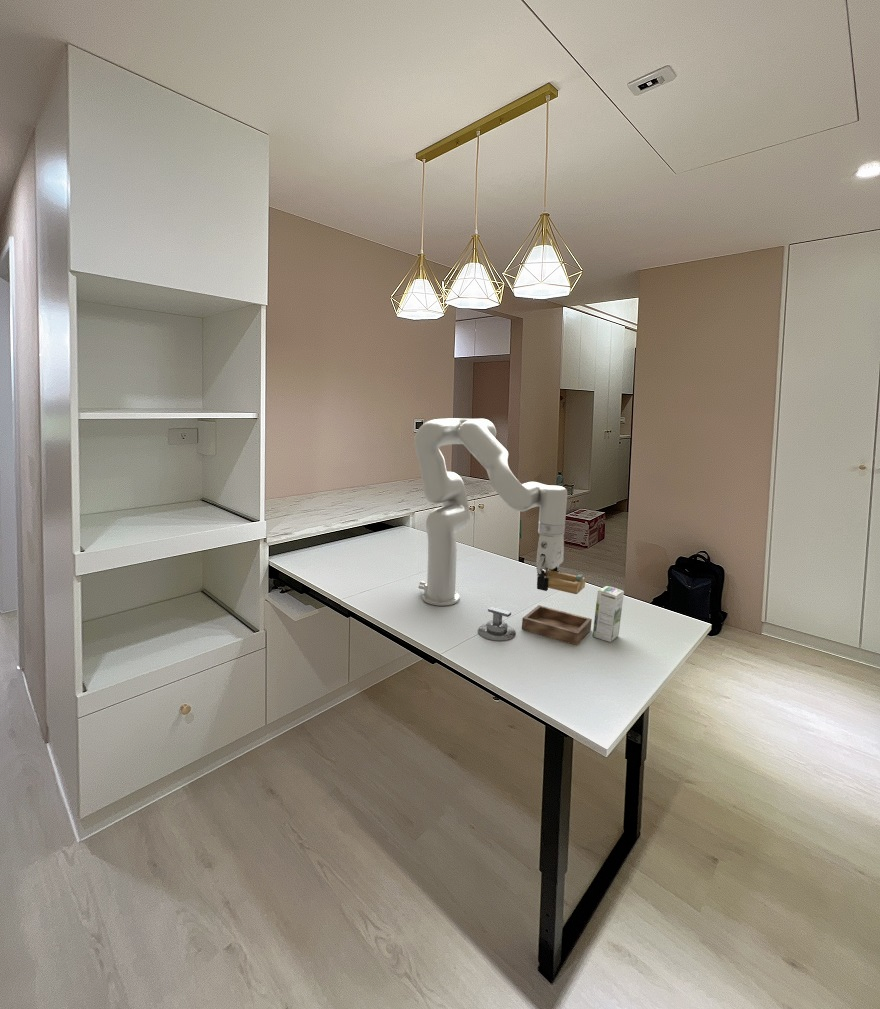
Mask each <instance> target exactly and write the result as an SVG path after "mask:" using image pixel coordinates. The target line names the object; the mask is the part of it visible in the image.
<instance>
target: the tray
mask: <svg viewBox="0 0 880 1009" xmlns="http://www.w3.org/2000/svg"><path fill="white" fill-rule="evenodd" d="M592 621H593V620H592V618H589V617H585V616H581V615H578V614H574V613H570V612H567V611H563V610H559V609H555V608H551V607H547V606H543V605H539V604H538V605H537V606H536V607H534V608H533V609H532V610H531V611H530V612H528V613H527V614H526V615H524V616H523V617H522V619H521V630H524V631H527V632H530V633H534V634H537V635H541V636H544V637H547V638H551V639H554V640H557V641H561V642H564V643H567V644H572V645H575V646H578V645H579V644H580V643H581V641H583V639H584V638H585V637H586V636H587V635H588V634H589V633H590V631H591V630H592Z"/></svg>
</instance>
